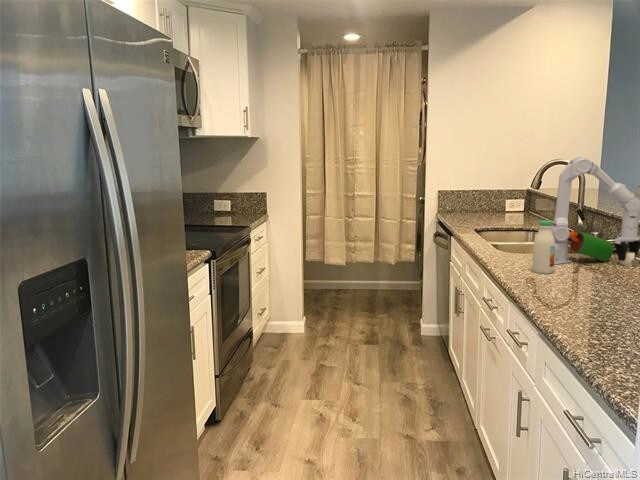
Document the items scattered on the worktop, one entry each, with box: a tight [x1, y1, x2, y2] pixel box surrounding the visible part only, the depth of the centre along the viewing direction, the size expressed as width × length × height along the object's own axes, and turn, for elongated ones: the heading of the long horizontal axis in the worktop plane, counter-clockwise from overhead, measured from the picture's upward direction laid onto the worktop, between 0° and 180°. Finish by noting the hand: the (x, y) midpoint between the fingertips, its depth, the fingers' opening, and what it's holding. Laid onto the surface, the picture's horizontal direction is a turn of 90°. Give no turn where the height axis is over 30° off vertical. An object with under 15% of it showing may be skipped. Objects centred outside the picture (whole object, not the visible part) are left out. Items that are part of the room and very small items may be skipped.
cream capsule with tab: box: [619, 250, 640, 267], centre depth 218 cm, size 5×7×5 cm
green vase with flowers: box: [567, 230, 614, 263], centre depth 224 cm, size 10×9×20 cm
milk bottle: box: [531, 219, 555, 275], centre depth 207 cm, size 8×8×20 cm
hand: (626, 259), depth 219 cm, fingers open, 6 cm apart
